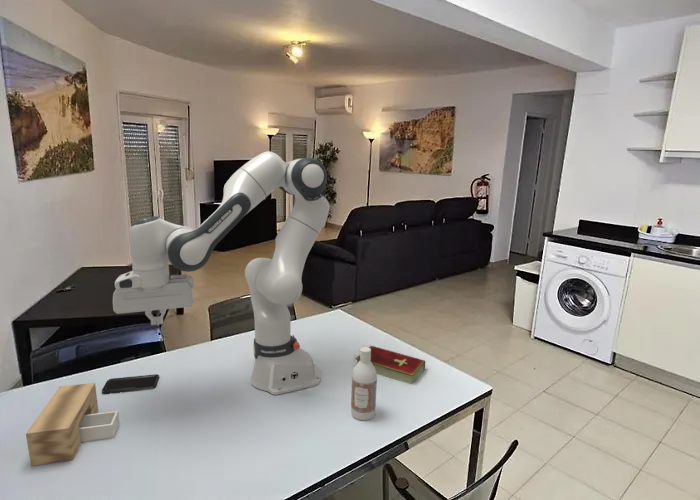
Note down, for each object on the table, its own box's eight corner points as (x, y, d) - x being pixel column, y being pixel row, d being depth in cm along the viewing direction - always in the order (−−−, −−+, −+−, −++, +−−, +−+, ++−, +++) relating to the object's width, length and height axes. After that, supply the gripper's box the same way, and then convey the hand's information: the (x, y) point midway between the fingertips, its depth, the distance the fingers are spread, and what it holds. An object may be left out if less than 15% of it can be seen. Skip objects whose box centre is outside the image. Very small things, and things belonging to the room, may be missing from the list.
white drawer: (119, 424, 113) (118, 410, 112) (113, 438, 107) (112, 424, 106) (59, 431, 109) (57, 418, 108) (50, 447, 103) (48, 432, 102)
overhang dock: (98, 410, 118) (95, 382, 116) (73, 459, 99) (68, 428, 97) (63, 414, 116) (59, 386, 114) (31, 465, 97) (25, 433, 95)
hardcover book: (370, 354, 156) (371, 344, 155) (424, 370, 146) (425, 359, 145) (355, 368, 146) (355, 357, 145) (412, 386, 136) (412, 374, 135)
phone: (108, 379, 132) (159, 373, 136) (108, 382, 133) (159, 377, 136) (100, 392, 125) (155, 386, 129) (100, 396, 125) (155, 390, 129)
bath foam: (347, 418, 118) (349, 352, 113) (354, 404, 124) (357, 341, 120) (371, 423, 116) (374, 356, 111) (377, 409, 122) (380, 345, 118)
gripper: (193, 270, 120) (197, 315, 124) (113, 276, 114) (119, 323, 118) (191, 276, 114) (196, 324, 118) (107, 283, 109) (114, 333, 112)
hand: (157, 323), depth 118 cm, fingers closed
